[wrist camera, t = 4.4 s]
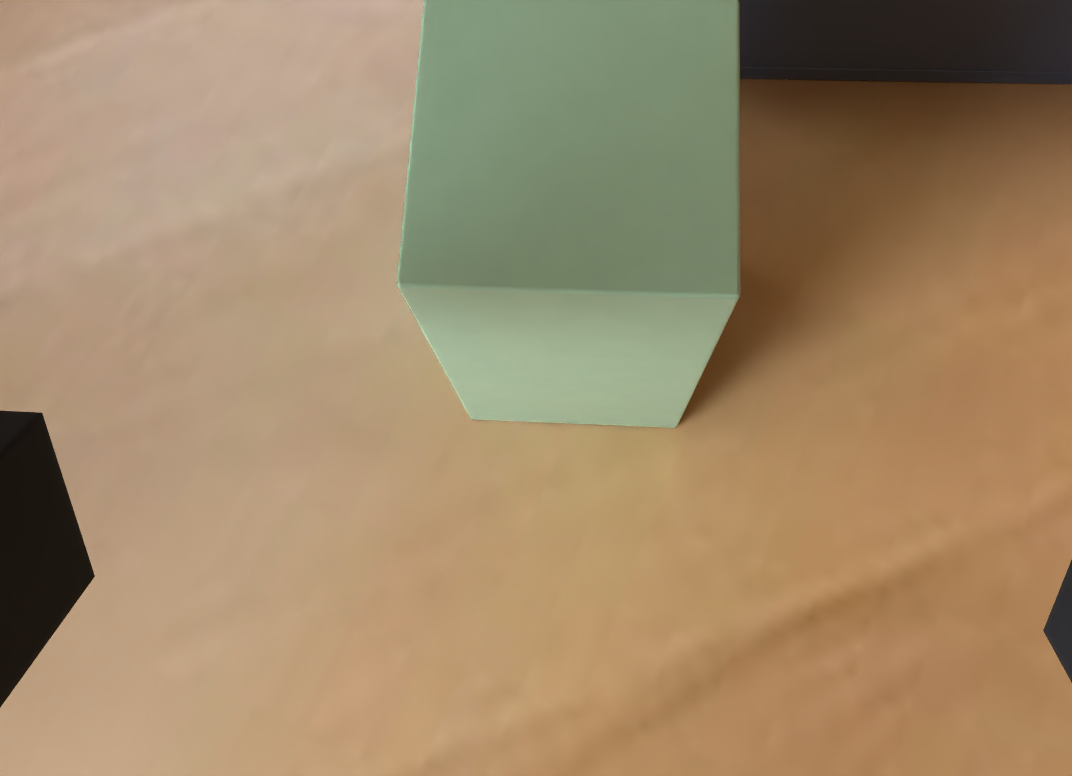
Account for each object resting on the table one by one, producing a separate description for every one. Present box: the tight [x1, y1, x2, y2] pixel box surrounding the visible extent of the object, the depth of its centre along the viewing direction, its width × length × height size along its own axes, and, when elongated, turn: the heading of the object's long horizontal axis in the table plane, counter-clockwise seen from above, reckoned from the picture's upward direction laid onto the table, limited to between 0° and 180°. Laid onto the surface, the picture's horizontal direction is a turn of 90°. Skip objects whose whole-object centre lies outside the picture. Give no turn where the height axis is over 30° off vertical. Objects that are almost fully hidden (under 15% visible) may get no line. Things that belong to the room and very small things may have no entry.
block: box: [397, 0, 740, 428], centre depth 20 cm, size 6×6×10 cm
